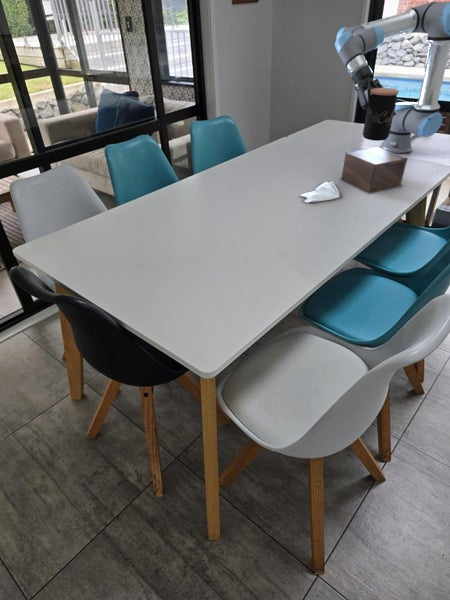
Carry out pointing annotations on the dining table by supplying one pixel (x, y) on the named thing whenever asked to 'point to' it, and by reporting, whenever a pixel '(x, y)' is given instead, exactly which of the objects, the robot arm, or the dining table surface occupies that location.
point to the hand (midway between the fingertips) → (385, 118)
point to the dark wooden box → (373, 169)
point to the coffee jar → (380, 114)
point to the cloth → (322, 193)
